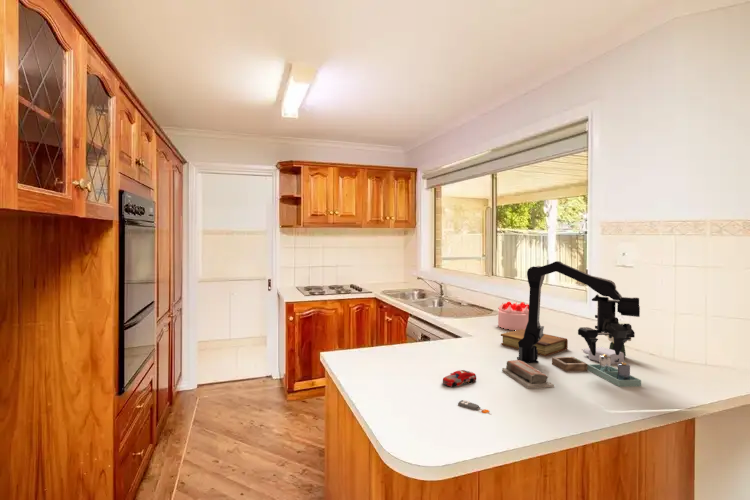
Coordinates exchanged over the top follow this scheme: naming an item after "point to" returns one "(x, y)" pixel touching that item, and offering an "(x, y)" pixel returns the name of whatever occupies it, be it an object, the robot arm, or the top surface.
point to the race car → (459, 378)
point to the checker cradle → (569, 364)
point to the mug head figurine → (613, 344)
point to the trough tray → (613, 376)
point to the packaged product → (526, 375)
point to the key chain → (471, 406)
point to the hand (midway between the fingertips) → (605, 355)
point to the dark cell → (623, 371)
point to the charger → (601, 350)
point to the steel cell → (604, 363)
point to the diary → (544, 346)
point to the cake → (513, 316)
